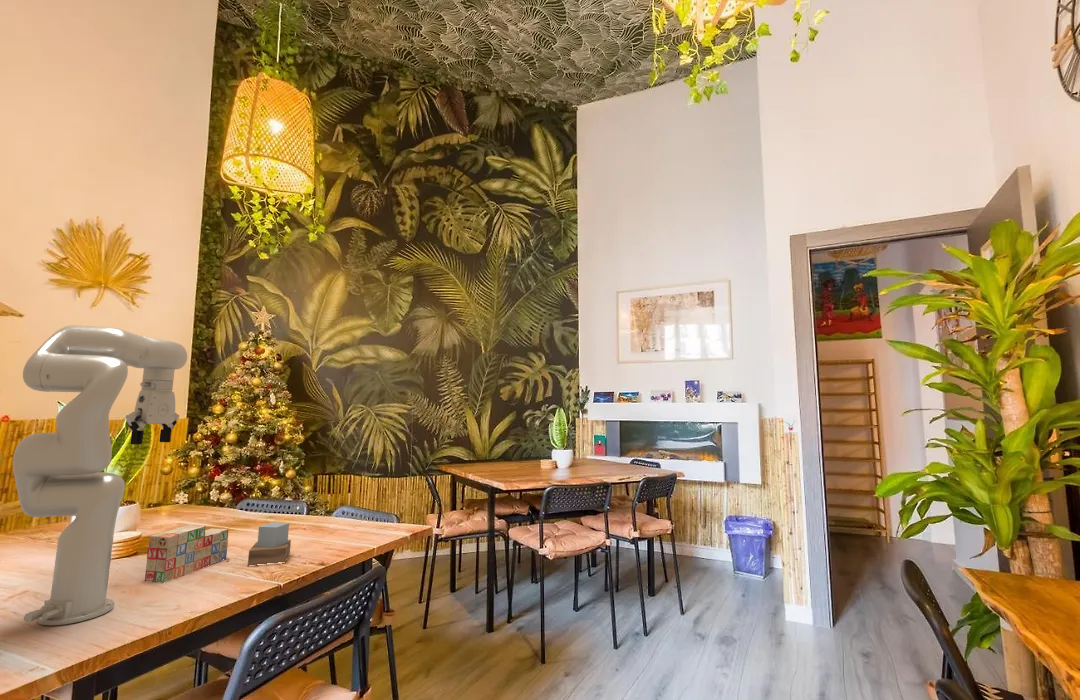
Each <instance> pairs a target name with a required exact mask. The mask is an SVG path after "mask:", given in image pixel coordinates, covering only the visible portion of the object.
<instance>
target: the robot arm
mask: <svg viewBox="0 0 1080 700" xmlns="http://www.w3.org/2000/svg"><path fill="white" fill-rule="evenodd" d="M187 360H188V351H187V350H186V348H185V347H184V346H183V344H181V343H178V342H175V341H171V340H170V341H169V340H163V339H159V338H154V337H150V336H143V335H138V334H135V333H133V332H130V331H126V330H124V329H121V328H117V327H110V326H109V327H108V326H92V325H76V324H74V325H73V324H72V325H67V326H64V327H62V328H60V329H58V330H56V331H55V332H54V333H53V334H51V336H49V337H48V338H47V339H46V340H45V341H44V342H43V343H42V344H41V345H40V346H39V347H38V348H37V349H36V351H34V353H33V354H31V356H30V357H29V358H28V359H27V361H26V363H25V365H24V366H23V370H22V380H23V382H24V383H25V385H26V386H27V387H29V388H30V389H32V390H34V391H37V392H45V393H46V392H47V393H49V392H50V393H52V392H54V393H55V392H56V393H58V392H59V393H79V394H77V395H76V396H75V397H74V398H72V400H70V401H69V402H68V403H66V405H64V407H62V408H61V409H60V411H59V412H58V413H57V415H56V418H55V424H56V432H37V433H34V434H30V435H27V436H26V437H24V438H22V440H20V442H19V443H18V444H17V445H16V448H15V450H14V453H13V457H12V469H13V475H14V480H15V486H16V491H17V495H18V496H17V497H18V501H19V506H20V509H21V510H22V512H23V513H24V514H25V515H27V516H29V517H32V518H47V517H50V518H51V517H74V516H75V518H74V520H73V521H72V522H71V523H69V524H68V525H67V526H66V527H65V528H64V529H63V530H62V531H61V533H60V535H59V537H58V540H57V545H56V554H55V560H54V569H53V574H52V575H53V576H52V582H51V583H52V584H51V590H50V591H51V592H50V597H49V599H46V600H44V605H42V606H41V607H40V608H39V609H35V610H32V611H29V612H26V613H25V614H24V615H23V620H24V623H30V622H33V621H36V620H37V621H36V622H37V623H38V624H39V625H42V626H61V625H69V624H74V623H80V622H83V621H89V620H91V619H95V618H97V617H100V616H102V615H104V614H106V613H108V612H110V611H111V610H112V609H113V608H114V607H115V601H114V600H113V599H111V598H107V593H108V585H109V577H110V576H109V575H110V567H111V562H112V561H111V560H112V551H113V544H114V535H115V528H116V524H117V523H116V521H117V517H118V513H119V510H120V505H121V504H122V503H121V502H122V500H123V498H124V493H125V488H126V485H125V480H124V479H123V478H122V477H121V476H120V475H118V474H116V473H112V472H106V471H105V472H103V471H104V470H106V469H107V468H108V467H109V466H110V464H111V462H112V457H113V456H112V455H113V451H112V447H113V446H112V440H111V431H110V420H109V416H110V411H111V409H112V407H113V405H114V403H115V401H116V400H117V398H118V396H119V394H120V392H121V391H122V388H123V387H124V385H125V382H126V380H127V378H128V373H129V369H128V367H132V368H135V369H143V373H142V380H141V382H140V383H139V384H140V385H139V386H140V387H141V389H140V390H139V392H138V396H137V399H136V403H135V407H134V411H132V412H130V413H128V414H126V416H125V419H126V423H127V426H128V427H129V430H130V431H131V436H130V445H142V444H143V439H144V430H143V429H144V428H145V427H146V425H147V424H148V425H150V424H151V425H160V426H161V428H162V429H161V428H160V433H159V442H160V443H170V442H171V440H172V439H171V437H172V430H174V428H175V425H176V424H177V422H178V420H179V418H180V414H178V413H177V412H176V396H175V395H176V394H175V392H174V391H173V388H174V380H175V379H174V378H175V370H181V369H182V368H183V367H185V365H186V363H187Z"/></svg>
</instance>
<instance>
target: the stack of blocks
mask: <svg viewBox="0 0 1080 700" xmlns="http://www.w3.org/2000/svg"><path fill="white" fill-rule="evenodd" d="M228 544H229V529H227V528H208V529H206V525H188V524H187V525H184V526H180V527H176V528H173V529H170V530H166V531H164V532H160V533H159V532H158V533H156V534H152V535H149V539H148V547H147V553H146V564H145V565H146V567H145V575H144V582H145V581H152V582H151V583H158V582H162V583H161V584H164V582H165V583H167V582H166V581H168V582H170V581H172V579H173V580H176V579H179V578H181V577H184V576H187V575H189V574H192V573H194V572H196V571H199V570H201V569H203V567H204V568H207V567H209V566H212V565H214V563H215V564H217V563H220V562H222V561H221V560H223V559H225V560H227V555H228V547H229V546H228ZM219 561H220V562H219ZM223 561H224V560H223ZM216 562H217V563H216ZM208 565H209V566H208ZM206 566H207V567H206ZM198 569H199V570H198ZM186 574H187V575H186ZM178 577H179V578H178ZM175 578H176V579H175ZM169 580H170V581H169Z"/></svg>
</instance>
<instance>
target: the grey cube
mask: <svg viewBox="0 0 1080 700" xmlns="http://www.w3.org/2000/svg"><path fill="white" fill-rule="evenodd" d="M289 531H290V522H275V521H274V522H273V521H272V522H269V523H266V524H263V525H260V526H258V532H257V533H258V534H257V542H258V543H257V547H270V548H276V547H278V546H280V545H283V544H285V543H288V540H289Z"/></svg>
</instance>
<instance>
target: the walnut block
mask: <svg viewBox="0 0 1080 700" xmlns="http://www.w3.org/2000/svg"><path fill="white" fill-rule="evenodd" d="M257 543H258V541H256V542H255V543H254V544H253V545H252V547H251V548H250V549H249V550H248V560H247V566H248V565H257V564H267V563H278V562H285V561H286V559H287V557H288V556H289V557H290V555H291V544H292V539H288V543H285V544H283V545H280V546H278V547H276V548H270V547H257ZM289 554H290V555H289ZM289 557H288V558H289ZM287 560H288V559H287ZM286 562H287V561H286Z"/></svg>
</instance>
